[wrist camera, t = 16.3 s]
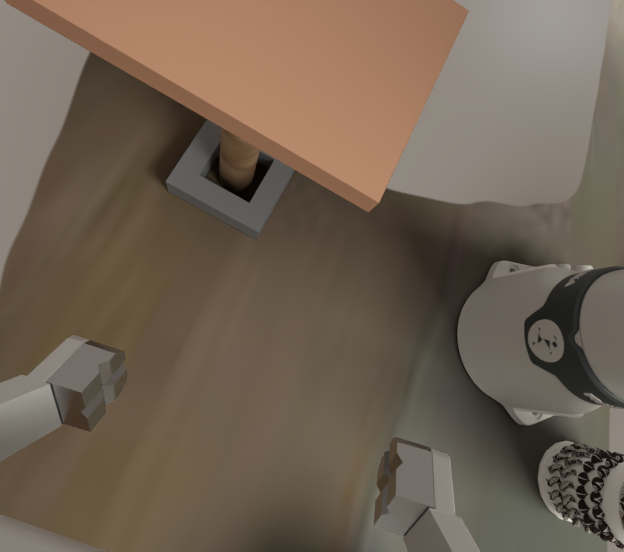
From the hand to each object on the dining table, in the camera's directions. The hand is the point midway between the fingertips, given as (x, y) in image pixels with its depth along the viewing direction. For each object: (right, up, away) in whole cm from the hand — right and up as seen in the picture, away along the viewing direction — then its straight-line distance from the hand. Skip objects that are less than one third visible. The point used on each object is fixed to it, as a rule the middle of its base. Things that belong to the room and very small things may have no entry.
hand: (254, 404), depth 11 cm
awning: (-6, +14, +30) cm, 34 cm away
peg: (-6, +14, +30) cm, 34 cm away
